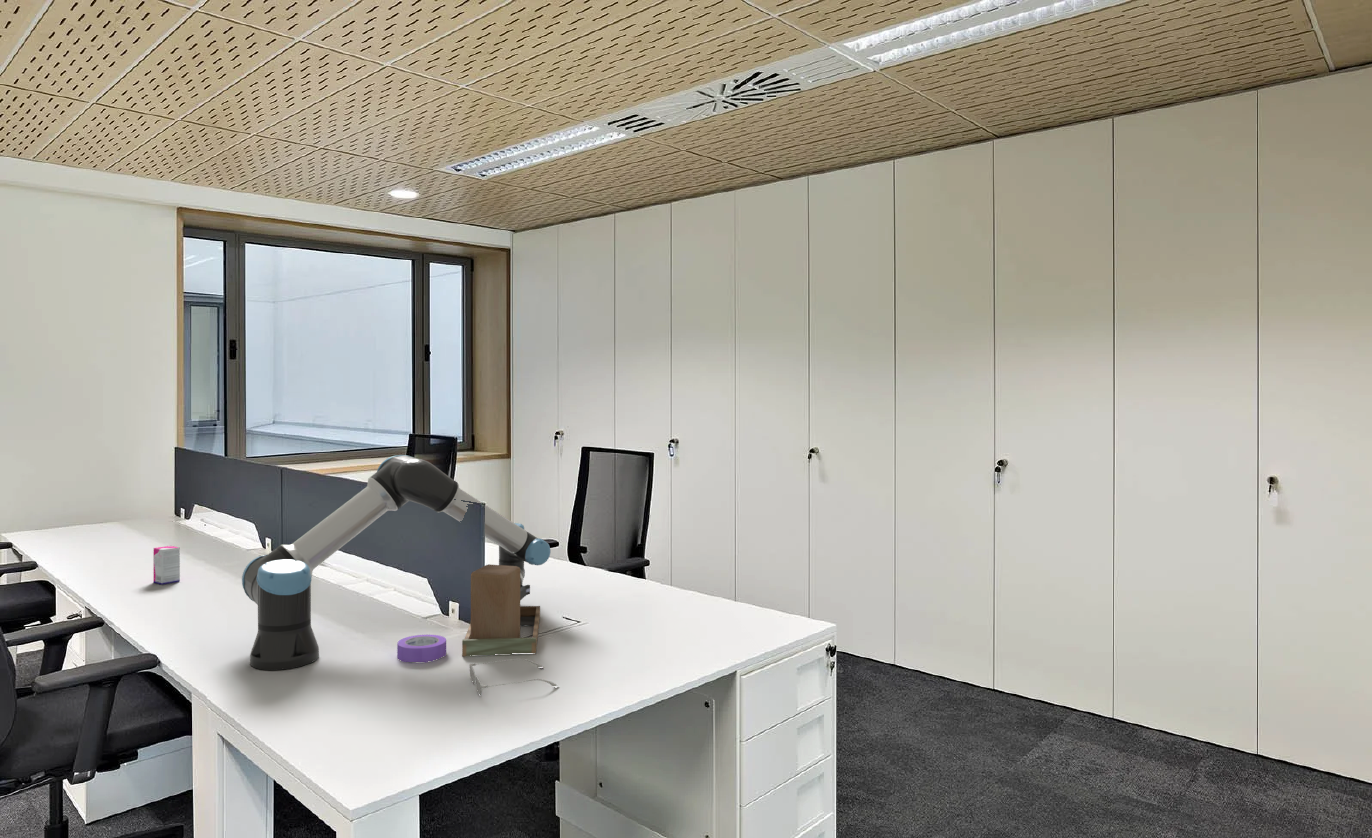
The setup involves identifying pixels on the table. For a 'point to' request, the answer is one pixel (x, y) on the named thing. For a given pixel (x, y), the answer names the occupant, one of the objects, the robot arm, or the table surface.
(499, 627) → the block
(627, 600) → the table surface
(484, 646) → the wooden tray
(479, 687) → the eyeglasses
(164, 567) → the supplement box
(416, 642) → the masking tape
